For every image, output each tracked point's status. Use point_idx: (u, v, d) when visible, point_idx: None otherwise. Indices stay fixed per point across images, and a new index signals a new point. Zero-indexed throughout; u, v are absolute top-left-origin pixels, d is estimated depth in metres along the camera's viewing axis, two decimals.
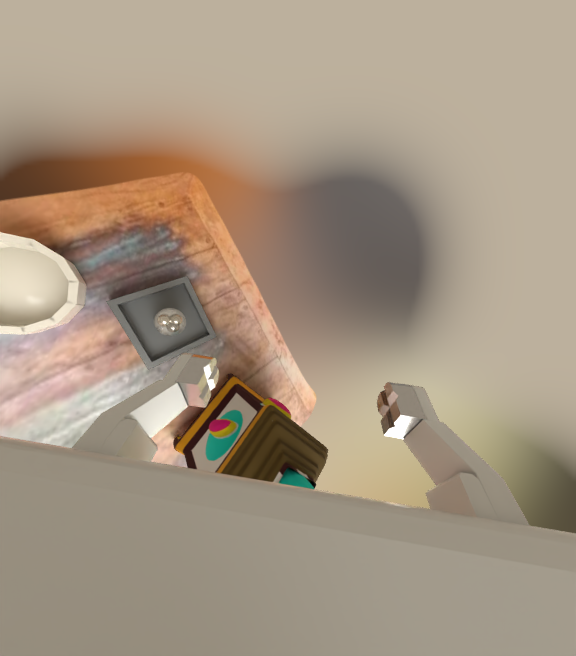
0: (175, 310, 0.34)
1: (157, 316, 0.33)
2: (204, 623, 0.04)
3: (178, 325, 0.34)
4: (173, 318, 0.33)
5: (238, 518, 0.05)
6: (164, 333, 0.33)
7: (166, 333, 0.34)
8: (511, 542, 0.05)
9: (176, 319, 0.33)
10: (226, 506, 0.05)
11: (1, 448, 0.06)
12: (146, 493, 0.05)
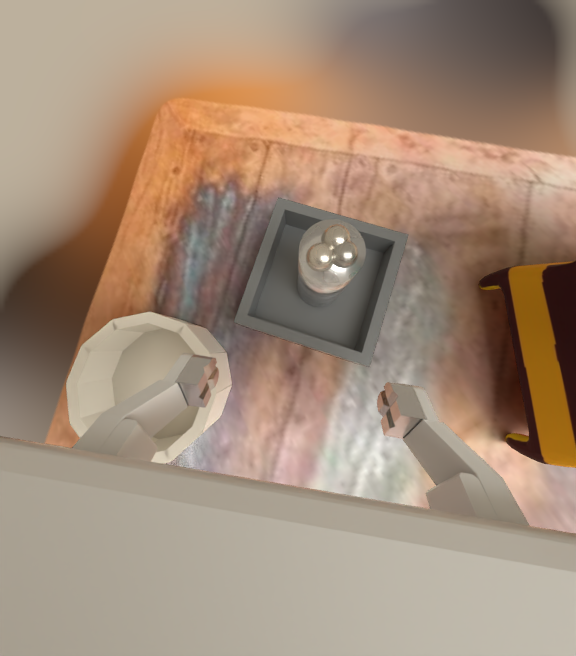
0: (318, 225, 0.14)
1: (304, 261, 0.14)
2: (205, 623, 0.04)
3: (350, 241, 0.14)
4: (332, 235, 0.13)
5: (238, 518, 0.05)
6: (343, 278, 0.14)
7: (346, 275, 0.14)
8: (511, 542, 0.05)
9: (337, 231, 0.13)
10: (226, 506, 0.05)
11: (1, 448, 0.06)
12: (147, 493, 0.05)
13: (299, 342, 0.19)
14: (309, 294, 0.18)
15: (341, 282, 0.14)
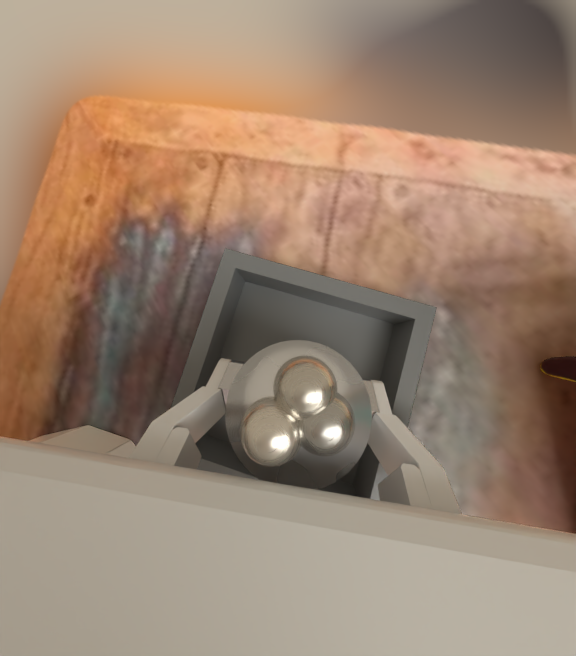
0: (267, 355, 0.07)
1: (237, 439, 0.06)
2: (204, 623, 0.04)
3: (336, 402, 0.06)
4: (292, 398, 0.06)
5: (238, 518, 0.05)
6: (324, 478, 0.06)
7: (330, 472, 0.06)
8: (511, 542, 0.05)
9: (303, 391, 0.06)
10: (226, 506, 0.05)
11: (1, 448, 0.06)
12: (146, 493, 0.05)
13: None
14: None
15: None
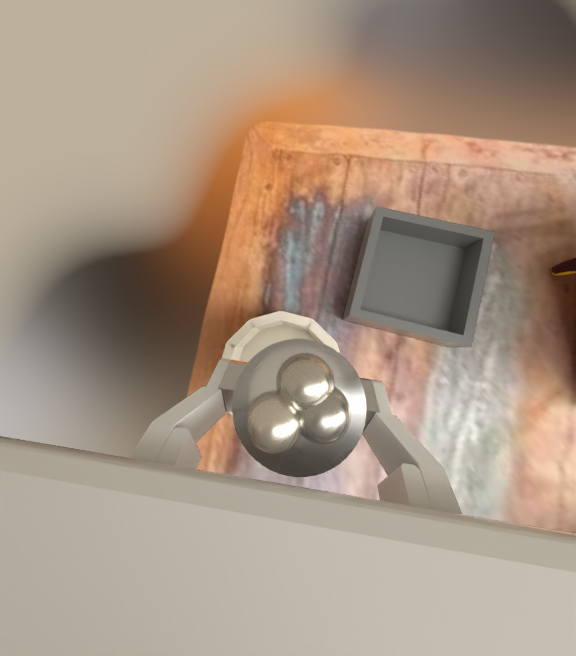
0: (270, 352, 0.07)
1: (243, 429, 0.07)
2: (204, 623, 0.04)
3: (334, 395, 0.07)
4: (293, 390, 0.06)
5: (238, 518, 0.05)
6: (322, 465, 0.07)
7: (328, 459, 0.07)
8: (511, 542, 0.05)
9: (304, 384, 0.06)
10: (226, 506, 0.05)
11: (1, 448, 0.06)
12: (146, 493, 0.05)
13: (408, 329, 0.22)
14: None
15: None
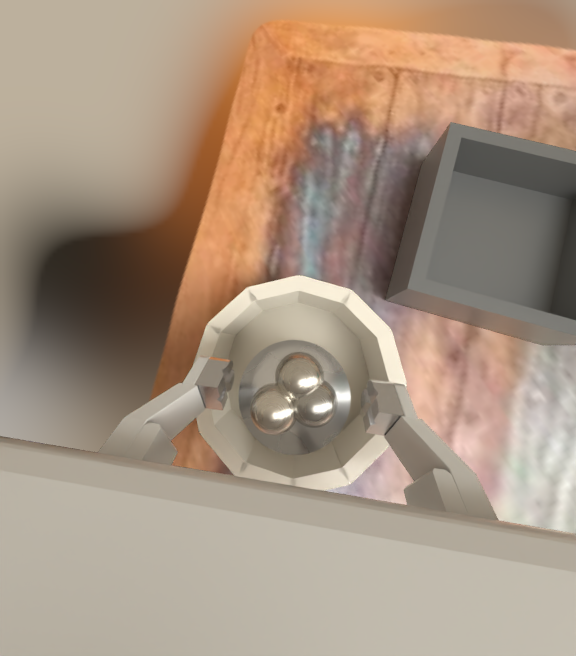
0: (270, 351, 0.09)
1: (247, 415, 0.08)
2: (204, 623, 0.04)
3: (323, 387, 0.08)
4: (289, 383, 0.08)
5: (238, 518, 0.05)
6: (314, 445, 0.08)
7: (318, 440, 0.08)
8: (511, 542, 0.05)
9: (297, 377, 0.08)
10: (226, 506, 0.05)
11: (1, 448, 0.06)
12: (146, 493, 0.05)
13: (503, 313, 0.14)
14: None
15: None
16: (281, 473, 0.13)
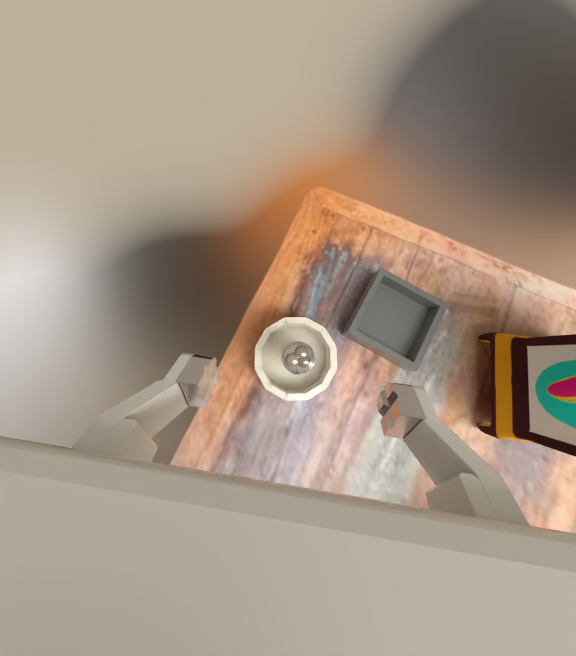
0: (294, 343, 0.29)
1: (284, 360, 0.28)
2: (204, 623, 0.04)
3: (307, 356, 0.28)
4: (298, 352, 0.28)
5: (238, 518, 0.05)
6: (301, 372, 0.28)
7: (302, 371, 0.28)
8: (511, 542, 0.05)
9: (301, 351, 0.28)
10: (226, 506, 0.05)
11: (1, 448, 0.06)
12: (146, 493, 0.05)
13: (381, 350, 0.35)
14: None
15: None
16: (282, 391, 0.33)
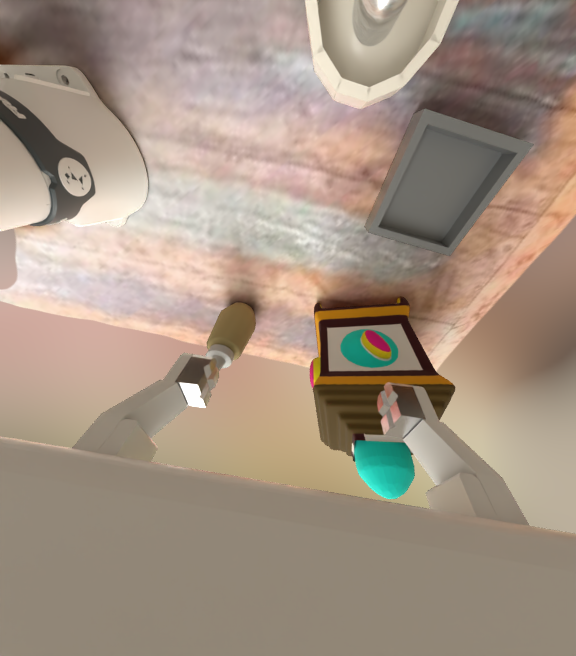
0: None
1: None
2: (204, 622, 0.04)
3: None
4: None
5: (238, 518, 0.05)
6: None
7: None
8: (511, 542, 0.05)
9: None
10: (226, 506, 0.05)
11: (1, 448, 0.06)
12: (146, 493, 0.05)
13: (393, 179, 0.27)
14: None
15: None
16: None
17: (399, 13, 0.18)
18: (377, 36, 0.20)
